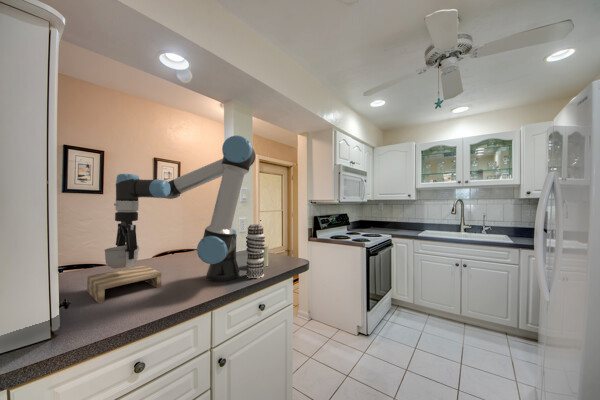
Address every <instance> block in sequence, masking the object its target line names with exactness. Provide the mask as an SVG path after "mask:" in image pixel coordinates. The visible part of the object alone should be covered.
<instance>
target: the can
mask: <svg viewBox="0 0 600 400" xmlns="http://www.w3.org/2000/svg"><path fill="white" fill-rule="evenodd" d="M263 247H264V249H263V250H264V252H263V258H264V260H263V261H264V263H263V264H264V266H263V267H265V266H268V265H269V245H268V244H265V245H264V246H263ZM268 267H269V266H268ZM265 268H266V267H265Z"/></svg>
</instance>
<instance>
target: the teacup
mask: <svg viewBox="0 0 600 400" xmlns="http://www.w3.org/2000/svg"><path fill="white" fill-rule="evenodd" d="M126 249H127V246H118V247H117V246H113V247H108V248H106V249H104V250H103V251H104V258H105V259H104V260H105V264H106V265H107V266H108V267H110V268H112V269H122V268H126V252H125V250H126ZM139 252H140V245H139V244H137V249H136V250H135V263H136V262H137V261H138V259H139Z"/></svg>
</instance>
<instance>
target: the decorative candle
mask: <svg viewBox="0 0 600 400" xmlns="http://www.w3.org/2000/svg"><path fill="white" fill-rule="evenodd" d="M246 235H247V236H246V237H245V239H246V241H245V242H246V243H245V244H246V245H245V246H246V247H247V248H246V253H247V258H246V276H247V277H248V278H247V277H246V278H247V279H250V278H257V279H261V278H260V277H262V278H264V276H265V268H263V266H264V264H263V263H264V261H263V260H264V258H263V252H264V250H263V249H264V247H263V246H264V245H266V244H264V243H265V242H266V240H265V239H266V237H265V236H264V235H265V234H264V227H263V225H262V224H260V223H258V224H249V226H248V227H247V234H246Z"/></svg>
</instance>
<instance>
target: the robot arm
mask: <svg viewBox="0 0 600 400" xmlns="http://www.w3.org/2000/svg"><path fill="white" fill-rule="evenodd" d="M221 150H222V155H223V157H222V158H221V159H219V160H216V161H213V162H212V163H209V164H207V165H206V164H205V166H202V167H200V168H197V169H195V170H192V171H190V172H188V173H186V174H183V175H181V176H179V177H176V178H174V179H172V180H169V181H168V180H166V179H159V178H158V179H157V178H156V179H140V176H139V175H137V174H133V173H119V174H117V175H116V178H115V179H116V180H115V181H116V182H115V203H113V206H114V207H115V209H114V210H115V211H116V212H115V213H114V221H116V222H118V223H117V231H116V240H115V246H116V247H118V246H127V249H126V250H125V252H126V267H125V269H129V268H134V267H136V266H135V265H136V264H135V263H136V262H135V250H136V249H137V245H138V242H137V240H138V239H137V224H133V222H136V221H138V220H139V212H137V211H139V202H140V201H139V198H154V199H168V200H174V199H176V198H178V197H179V196H180V195H181V194H184V193H186V192H188V191H191V190H194V189H196V188H198V187H201V186H202V185H205V184H207V183H209V182H211V181H214V180H216V179H219V178H221V180H220V183H219V189H218V192H217V196H216V200H215V203H214V208H213V212H212V217H211V220H210V224H209V225H207V226H206V227H205V228H204V232H203V236H202V239H200V240H199V242H198V244H197V247H196V253H197V256H198V258H199V259H200V260H201V261H202V262H203V263H205V264H209V266H208V269H207V272H206V279H207V281H210V282H228V281H231V280H235V279H237V278H239V277H240V273H241V271H240V267H239V265H238V261H237V229H234V228H232V225H233V221H234V217H235V214H236V210H237V209H236V208H237V206H238V201H239V197H240V194H241V189H242V185H243V181H244V177H245V175H247V174H248V173H249V171H250V167H251V166H253V164H254V163H255V161H256V151H255V149H254V148H253V145H252V143H251V141H249V140H248V139H247V137H244V136H242V135H232V136H229V137H227V138H226V139H225V141H223V144H222V148H221Z"/></svg>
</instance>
